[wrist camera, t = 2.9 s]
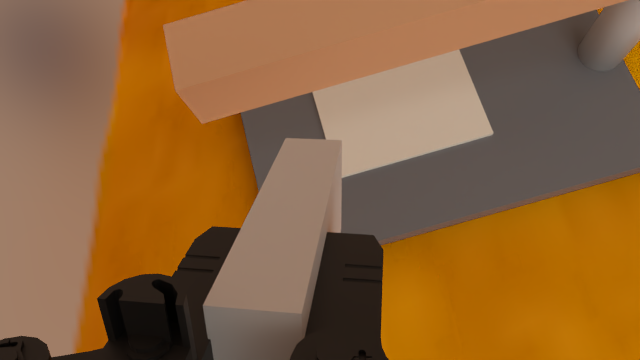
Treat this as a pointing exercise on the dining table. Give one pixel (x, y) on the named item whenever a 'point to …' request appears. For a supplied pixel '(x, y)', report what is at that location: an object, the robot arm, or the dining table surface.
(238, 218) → the dining table surface
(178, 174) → the dining table surface
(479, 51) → the base plate with post
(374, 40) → the swing bar
